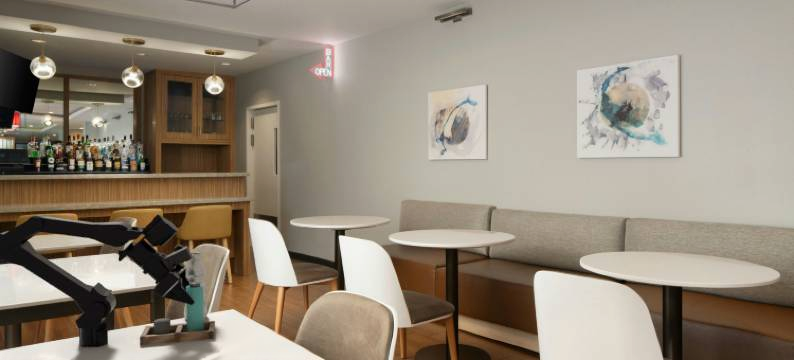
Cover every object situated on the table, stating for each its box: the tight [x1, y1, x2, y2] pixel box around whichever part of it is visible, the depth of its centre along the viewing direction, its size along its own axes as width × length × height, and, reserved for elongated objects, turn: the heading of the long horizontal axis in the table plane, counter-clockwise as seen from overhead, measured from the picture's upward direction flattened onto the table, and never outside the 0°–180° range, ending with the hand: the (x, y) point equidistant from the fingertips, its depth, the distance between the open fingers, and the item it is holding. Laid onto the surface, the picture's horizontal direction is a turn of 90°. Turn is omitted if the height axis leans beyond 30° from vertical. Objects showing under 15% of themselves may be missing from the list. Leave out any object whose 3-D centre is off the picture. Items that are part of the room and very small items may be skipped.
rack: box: [139, 320, 216, 346], centre depth 148 cm, size 18×9×3 cm, turn 106°
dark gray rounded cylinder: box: [153, 317, 171, 335], centre depth 146 cm, size 4×4×4 cm
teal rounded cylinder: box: [185, 282, 205, 332], centre depth 148 cm, size 4×4×14 cm
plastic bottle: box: [183, 252, 208, 321], centre depth 164 cm, size 6×7×20 cm
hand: (194, 299), depth 148 cm, fingers open, 9 cm apart
